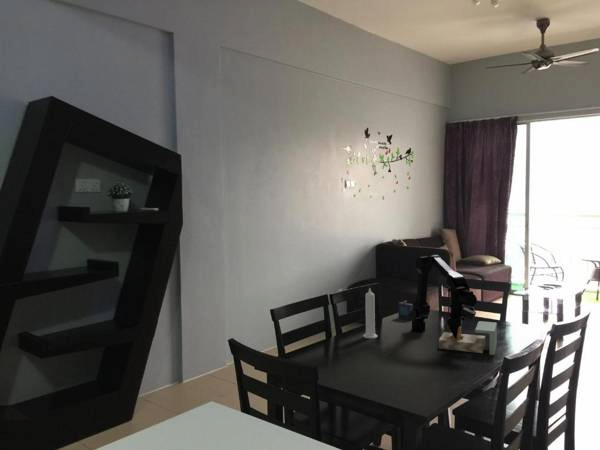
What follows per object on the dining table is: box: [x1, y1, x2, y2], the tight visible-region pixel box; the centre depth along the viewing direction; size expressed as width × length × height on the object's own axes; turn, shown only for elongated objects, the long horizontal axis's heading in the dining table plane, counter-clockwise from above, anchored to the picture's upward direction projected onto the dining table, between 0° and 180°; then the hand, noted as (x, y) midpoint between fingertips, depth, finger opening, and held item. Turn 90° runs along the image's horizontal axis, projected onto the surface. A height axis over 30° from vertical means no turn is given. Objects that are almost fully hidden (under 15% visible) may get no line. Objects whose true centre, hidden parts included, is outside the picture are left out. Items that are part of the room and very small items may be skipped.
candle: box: [363, 287, 378, 340], centre depth 251 cm, size 7×7×25 cm
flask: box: [398, 300, 414, 321], centre depth 286 cm, size 9×3×11 cm, turn 44°
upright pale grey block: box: [474, 320, 498, 356], centre depth 228 cm, size 8×16×11 cm, turn 155°
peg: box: [452, 325, 462, 339], centre depth 234 cm, size 4×4×10 cm
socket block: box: [438, 331, 486, 354], centre depth 233 cm, size 19×14×4 cm
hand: (456, 335), depth 234 cm, fingers open, 8 cm apart
